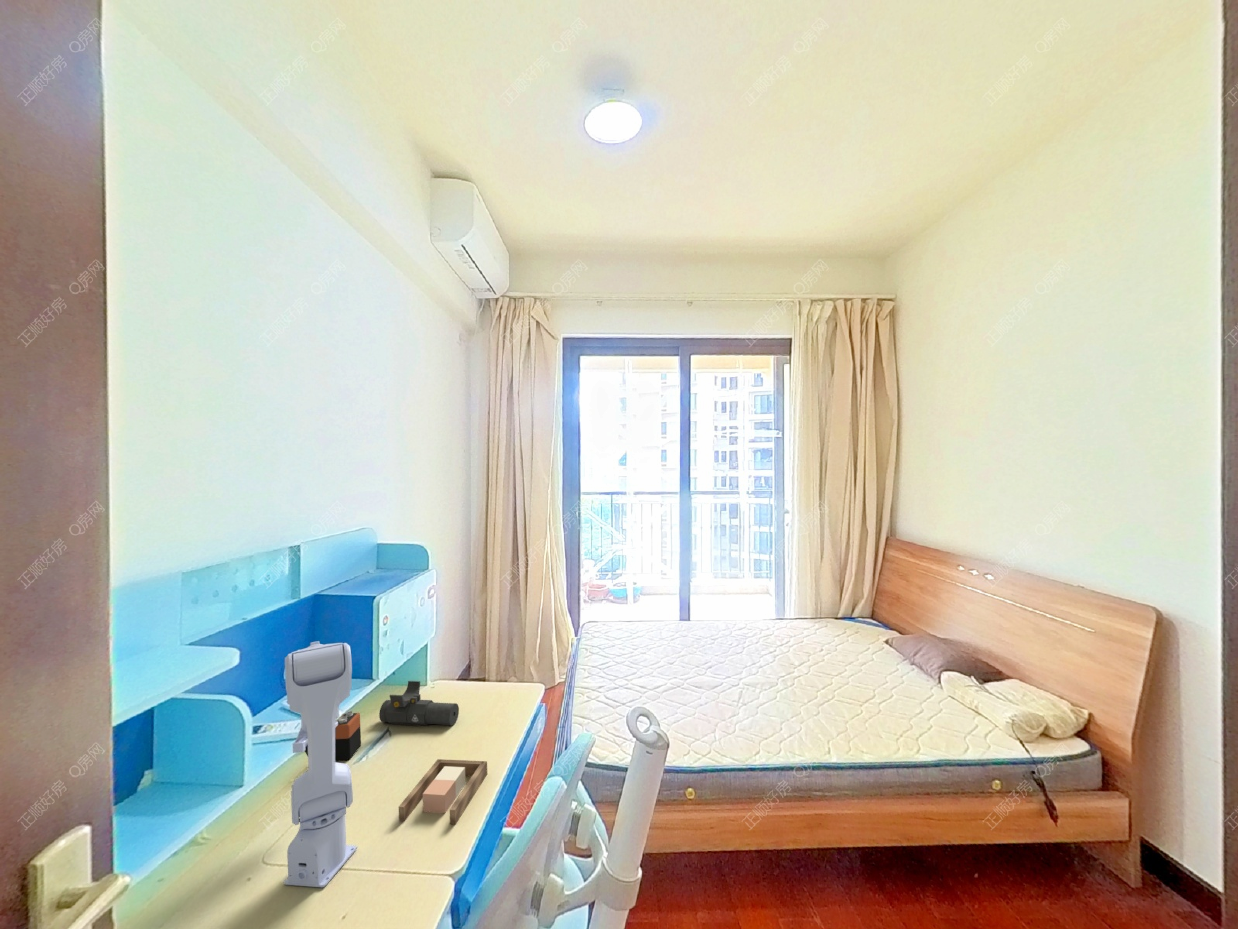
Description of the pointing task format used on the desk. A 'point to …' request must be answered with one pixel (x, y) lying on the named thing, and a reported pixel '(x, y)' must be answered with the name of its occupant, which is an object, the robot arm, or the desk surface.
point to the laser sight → (417, 709)
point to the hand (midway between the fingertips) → (318, 767)
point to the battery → (347, 736)
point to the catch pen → (478, 775)
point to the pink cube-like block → (439, 796)
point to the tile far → (453, 776)
